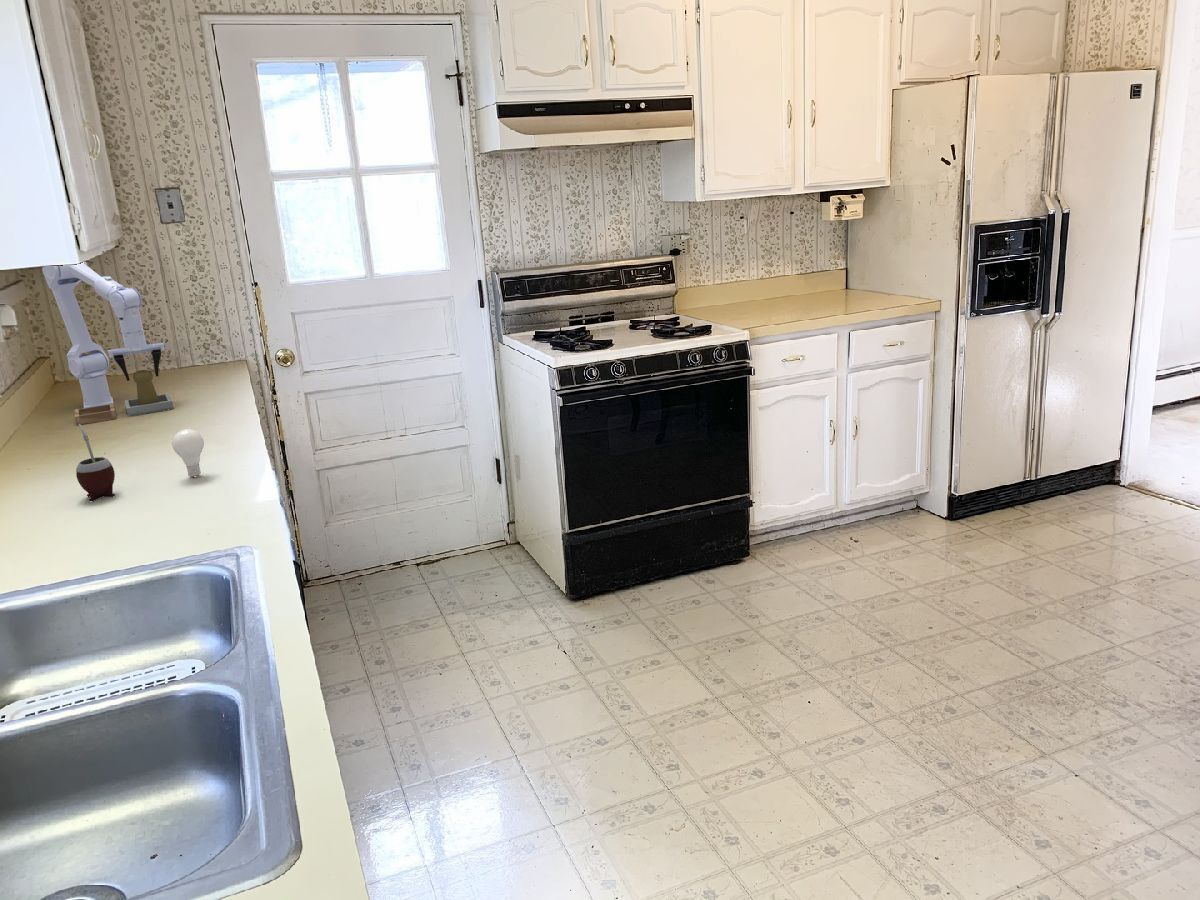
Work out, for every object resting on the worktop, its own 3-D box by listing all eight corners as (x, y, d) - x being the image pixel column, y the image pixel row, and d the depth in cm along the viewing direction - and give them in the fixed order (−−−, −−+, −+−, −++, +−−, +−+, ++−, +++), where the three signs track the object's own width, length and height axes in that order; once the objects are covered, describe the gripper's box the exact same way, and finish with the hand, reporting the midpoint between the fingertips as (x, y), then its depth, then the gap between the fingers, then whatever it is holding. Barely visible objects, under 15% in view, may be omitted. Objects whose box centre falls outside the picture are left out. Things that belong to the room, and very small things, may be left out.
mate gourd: (104, 502, 190) (87, 433, 185) (71, 502, 191) (53, 434, 187) (127, 489, 197) (112, 423, 192) (95, 489, 198) (79, 423, 193)
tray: (126, 408, 269) (124, 400, 268) (170, 401, 275) (168, 393, 274) (128, 416, 259) (126, 408, 258) (173, 409, 265) (171, 401, 264)
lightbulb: (215, 475, 203) (205, 428, 199) (187, 483, 198) (177, 435, 195) (202, 470, 207) (192, 423, 203) (174, 478, 202) (164, 431, 199)
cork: (164, 404, 269) (157, 367, 266) (154, 409, 263) (146, 372, 260) (145, 405, 269) (137, 368, 266) (134, 410, 264) (125, 373, 260)
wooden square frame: (76, 418, 262) (74, 409, 261) (115, 411, 266) (113, 403, 265) (76, 425, 253) (74, 416, 253) (116, 418, 258) (114, 410, 257)
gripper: (104, 337, 253) (115, 384, 257) (161, 330, 260) (171, 376, 264) (104, 333, 259) (114, 380, 263) (159, 326, 266) (168, 372, 270)
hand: (142, 378), depth 264 cm, fingers open, 7 cm apart
